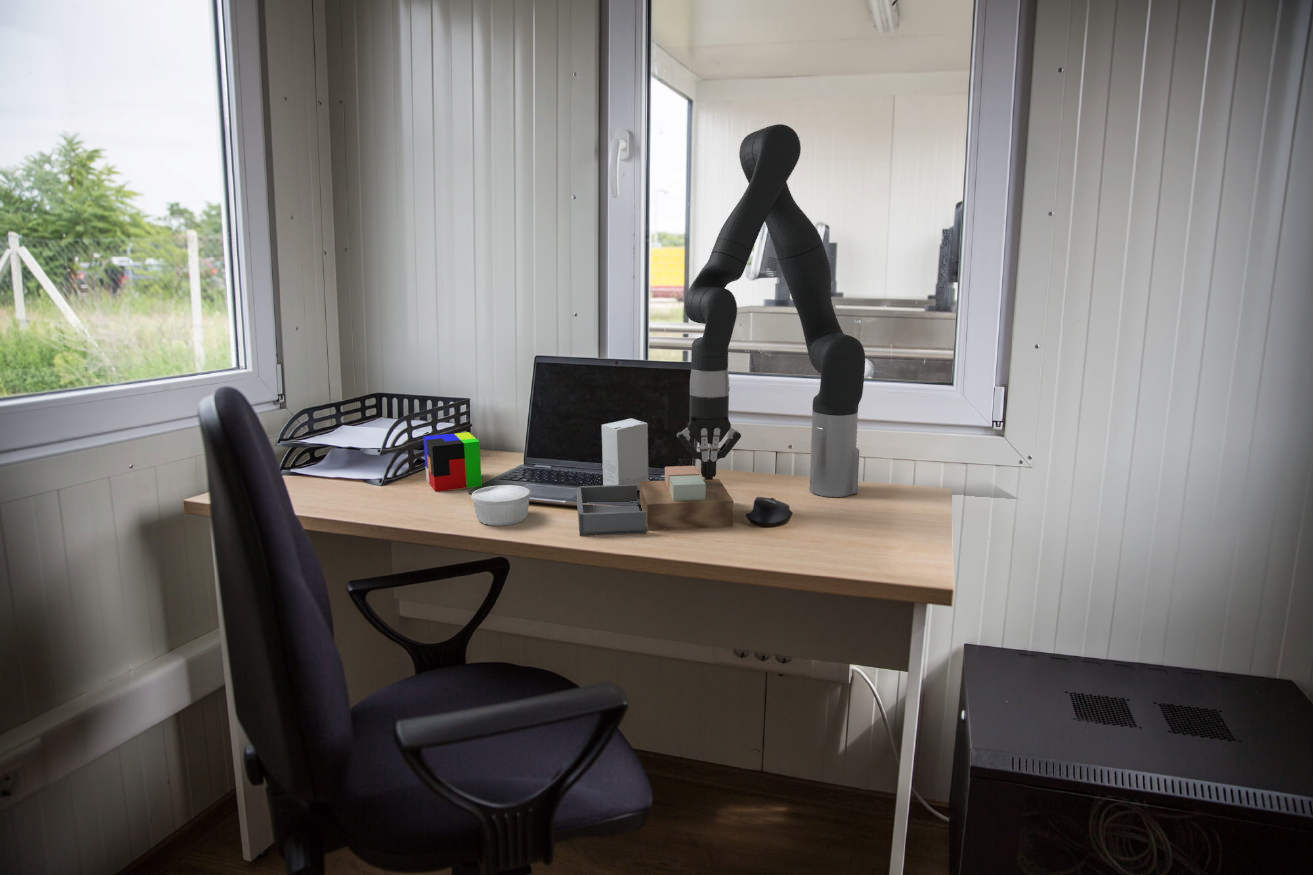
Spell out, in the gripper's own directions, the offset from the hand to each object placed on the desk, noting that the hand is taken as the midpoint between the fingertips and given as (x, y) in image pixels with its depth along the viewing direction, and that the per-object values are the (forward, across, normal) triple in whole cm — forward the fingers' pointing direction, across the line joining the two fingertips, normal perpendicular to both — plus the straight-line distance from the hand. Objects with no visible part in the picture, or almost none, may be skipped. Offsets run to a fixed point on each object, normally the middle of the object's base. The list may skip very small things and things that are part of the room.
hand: (708, 478), depth 172 cm
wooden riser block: (+6, +5, +4) cm, 9 cm away
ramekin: (+7, +40, +1) cm, 41 cm away
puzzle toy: (+7, +52, -25) cm, 58 cm away
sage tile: (+1, +5, +7) cm, 9 cm away
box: (+6, +20, +4) cm, 21 cm away
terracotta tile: (+1, +5, 0) cm, 5 cm away
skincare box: (+6, +15, -14) cm, 22 cm away
